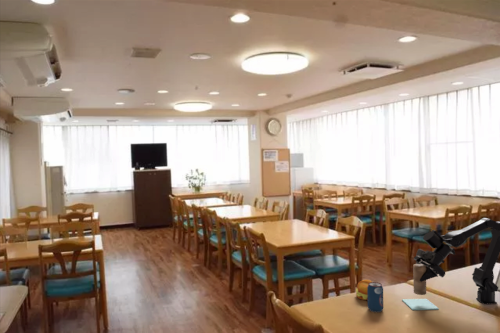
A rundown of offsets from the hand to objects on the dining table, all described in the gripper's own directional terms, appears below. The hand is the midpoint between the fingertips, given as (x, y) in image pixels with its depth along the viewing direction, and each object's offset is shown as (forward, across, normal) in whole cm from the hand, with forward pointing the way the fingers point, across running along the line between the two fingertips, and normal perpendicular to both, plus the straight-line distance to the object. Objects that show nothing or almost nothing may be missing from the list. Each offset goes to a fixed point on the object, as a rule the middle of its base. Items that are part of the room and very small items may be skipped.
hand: (417, 279), depth 185 cm
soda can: (+24, +2, -6) cm, 25 cm away
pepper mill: (+4, 0, +6) cm, 7 cm away
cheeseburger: (+23, -12, -5) cm, 27 cm away
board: (+8, 0, +10) cm, 13 cm away
